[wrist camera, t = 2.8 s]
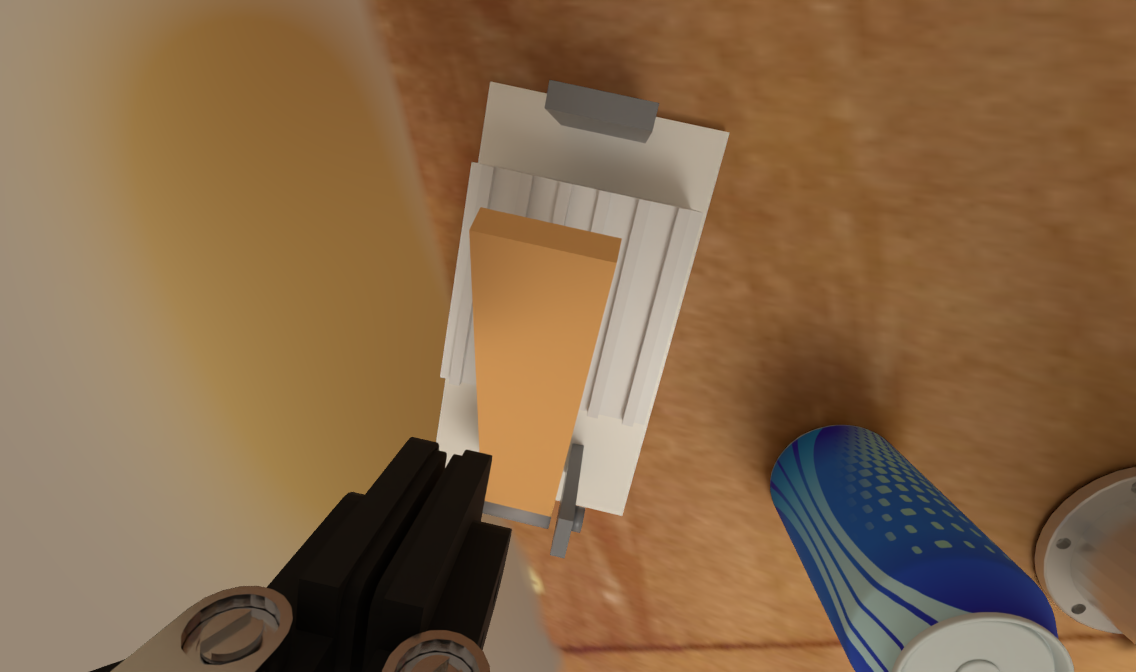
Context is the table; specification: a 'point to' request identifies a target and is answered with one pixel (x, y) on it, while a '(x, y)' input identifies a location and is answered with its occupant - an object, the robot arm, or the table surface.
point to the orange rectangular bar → (533, 350)
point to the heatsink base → (600, 166)
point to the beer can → (906, 564)
